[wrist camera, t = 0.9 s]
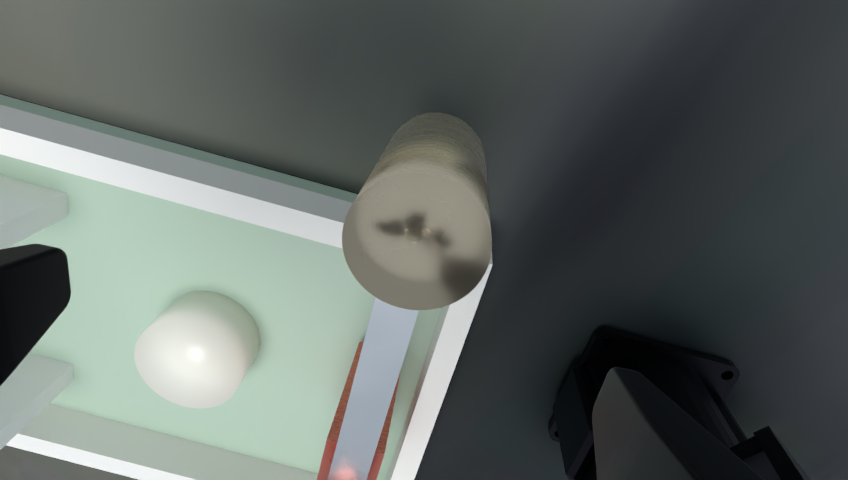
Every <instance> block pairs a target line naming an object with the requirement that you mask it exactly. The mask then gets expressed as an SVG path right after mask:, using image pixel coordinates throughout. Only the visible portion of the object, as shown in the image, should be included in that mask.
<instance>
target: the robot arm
mask: <svg viewBox="0 0 848 480" xmlns="http://www.w3.org/2000/svg"><path fill="white" fill-rule="evenodd" d="M70 297H71V286H70V277H69V268H68V259H67V255H66V253H65V252H64V251H63V250H62V249H60V248H57V247H52V246H47V245H43V244H28V245H23V246H17V247H11V248H5V249H0V386H1V385H2V384H3V383H4V382H5V381H6V379H7V378H8V377H9V376H10V375H11V374H12V372H13V371H14V370H15V369H16V368H17V367H18V365H19V364H20V363H21V362H22V361H23V359H24V358H25V357H26V356H27V355H28V353H29V352H30V351H31V350H32V348H33V347H34V346H35V345H36V344H37V342H38V341H39V340H40V339H41V338H42V336H43V335H44V334H45V333H46V331H47V330H48V329H49V328H50V327H51V325H52V324H53V323H54V322H55V321H56V319H57V318H58V317H59V316H60V314H61V313H62V312H63V311H64V310H65V308H66V307H67V305H68V303H69V301H70ZM605 337H609V338H610V339H609V340H608V341H605V342H603V341H601V340H602V339H603V338H605ZM724 371H728V372H727V373H725V374H722V373H723V372H724ZM739 375H740V374H739V370H738V369H737V368H736V366H735V365H734V364H733V362H731V361H728V360H725V359H721V358H718V357H714V356H710V355H707V354H703V353H699V352H696V351H692V350H688V349H685V348H681V347H678V346H674V345H670V344H667V343H663V342H659V341H656V340H652V339H649V338H645V337H641V336H638V335H634V334H630V333H627V332H623V331H620V330H616V329H612V328H608V327H603V328H599V329H598V330H596V331H595V333H594V334H593V336H592V338H591V340H590V342H589V344H588V346H587V348H586V350H585V352H584V354H583V356H582V358H581V360H580V362H579V364H578V365H576V366H574V367H573V368H572V369H571V371H570V373H569V375H568V377H567V379H566V381H565V383H564V385H563V387H562V389H561V391H560V393H559V395H558V397H557V399H556V401H555V404H554V406H553V411H554V415H553V417H552V419H551V421H550V423H549V426H548V430H549V435H550V437H551V438H552V440H555V441H557V442H560V447H561V452H562V457H563V462H564V467H565V472H566V475H567V477H568V478H569V480H810V478H809V477H808V476H807V475H806V473H805V472H804V471H803V469H802V468H801V467H800V466H799V464H798V463H797V462H796V460H795V459H794V458H793V457H792V455H791V454H790V453H789V451H788V450H787V449H786V448H785V446H784V445H783V444H782V442H781V441H780V440H779V439H778V437H777V436H776V435H775V433H774V432H773V431H772V430H771V428H770V427H769V426H767V427H765V428H763V429H761V430H758V431H756V432H754V435H755V436H754V437H751V438H749V439H747V438H746V436H745V435H744V433H743V432H742V430H741V428H740V427H739V425H738V424H737V422H736V421H735V419H734V417H733V416H732V414H731V413H730V411H729V409H728V408H727V406H726V405H725V403H724V401H723V400H724V399H725V397H726V396H727V394H728V393H729V391H730V390H731V388H732V387H733V385H734V384H735V382H736V381H737V379H738V377H739ZM556 430H557V431H556Z"/></svg>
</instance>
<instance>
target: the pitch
mask: <svg viewBox="0 0 848 480" xmlns="http://www.w3.org/2000/svg"><path fill="white" fill-rule="evenodd" d="M357 195H358V194H355V193H351V192H348V191H344V190H340V189H337V188H333V187H330V186H326V185H323V184H319V183H315V182H312V181H308V180H305V179H301V178H298V177H294V176H290V175H287V174H283V173H280V172H276V171H273V170H269V169H265V168H262V167H258V166H255V165H251V164H247V163H244V162H240V161H237V160H233V159H230V158H226V157H222V156H219V155H215V154H212V153H208V152H205V151H201V150H197V149H194V148H190V147H187V146H183V145H180V144H176V143H172V142H169V141H165V140H162V139H158V138H155V137H151V136H147V135H144V134H140V133H137V132H133V131H129V130H126V129H122V128H119V127H115V126H112V125H108V124H104V123H101V122H97V121H94V120H90V119H87V118H83V117H79V116H76V115H72V114H69V113H65V112H62V111H58V110H54V109H51V108H47V107H44V106H40V105H37V104H33V103H29V102H26V101H22V100H19V99H15V98H11V97H8V96H4V95H1V94H0V249H5V248H11V247H17V246H23V245H28V244H43V245H47V246H52V247H57V248H60V249H62V250H63V251H64V252H65V253H66V255H67V259H68V268H69V277H70V286H71V297H70V301H69V303H68V305H67V307H66V308H65V310H64V311H63V312H62V313H61V314H60V316H59V317H58V318H57V319H56V321H55V322H54V323H53V324H52V325H51V327H50V328H49V329H48V330H47V331H46V333H45V334H44V335H43V336H42V338H41V339H40V340H39V341H38V342H37V344H36V345H35V346H34V347H33V348H32V350H31V351H30V352H29V353H28V355H27V356H26V357H25V358H24V359H23V361H22V362H21V363H20V364H19V365H18V367H17V368H16V369H15V370H14V371H13V372H12V374H11V375H10V376H9V377H8V378H7V379H6V381H5V382H4V383H3V384H2V385H1V386H0V450H1V449H2V448H3V447H4V446H5V445H7V446H11V447H15V448H19V449H23V450H27V451H31V452H34V453H38V454H42V455H46V456H50V457H54V458H58V459H62V460H65V461H69V462H73V463H77V464H81V465H85V466H89V467H93V468H96V469H100V470H104V471H108V472H112V473H116V474H120V475H124V476H127V477H131V478H135V479H139V480H317V477H318V473H319V469H320V465H321V461H322V457H323V453H324V449H325V445H326V441H327V437H328V434H329V431H330V428H331V425H332V422H333V419H334V416H335V413H336V410H337V407H338V404H339V401H340V398H341V395H342V392H343V389H344V386H345V383H346V380H347V377H348V374H349V371H350V368H351V365H352V362H353V359H354V356H355V353H356V350H357V347H358V344H359V341H360V342H364V339H365V335H366V331H367V328H368V324H369V320H370V316H371V312H372V309H373V305H374V301H375V296H373V295H372V294H370V293H369V292H368V291H367V290H365V289H364V288H363V287H362V286H361V285H360V284H359V282H358V281H357V280H356V279H355V277H354V276H353V274H352V272H351V271H350V269H349V267H348V265H347V262H346V260H345V256H344V253H343V247H342V231H343V225H344V221H345V218H346V215H347V213H348V211H349V209H350V207H351V206H352V204H353V202H354V200H355V199H356V197H357ZM492 265H493V261H492V252H491V258H490V262H489V266H488V268H487V270H486V272H485V274H484V276H483V278H482V279H481V281H480V282H479V283H478V285H477V286H476V287H475V288H474V289H473V290H472V291H471V292H470V293H469V294H468V295H466V296H465V297H463V298H462V299H460V300H458V301H456V302H455V303H453V304H450V305H447V306H445V307H441V308H437V309H431V310H419V312H418V315H417V318H416V322H415V325H414V328H413V331H412V335H411V338H410V341H409V344H408V347H407V351H406V354H405V357H404V360H403V364H402V367H401V372H400V377H399V382H398V387H397V393H396V398H395V403H394V408H393V413H392V418H391V423H390V428H389V434H388V439H387V444H386V449H385V454H384V457H383V461H382V464H381V467H380V470H379V473H378V476H377V479H376V480H414V479H415V476H416V473H417V470H418V468H419V465H420V462H421V460H422V457H423V454H424V451H425V449H426V446H427V443H428V440H429V438H430V435H431V432H432V429H433V427H434V424H435V421H436V418H437V416H438V413H439V410H440V408H441V405H442V402H443V399H444V397H445V394H446V391H447V388H448V386H449V383H450V380H451V377H452V375H453V372H454V369H455V366H456V364H457V361H458V358H459V356H460V353H461V350H462V347H463V345H464V342H465V339H466V336H467V334H468V331H469V328H470V325H471V323H472V320H473V317H474V314H475V312H476V309H477V306H478V304H479V301H480V298H481V295H482V293H483V290H484V287H485V284H486V282H487V279H488V276H489V273H490V271H491V268H492ZM195 291H209V292H215V293H219V294H222V295H224V296H227V297H229V298H231V299H233V300H234V301H236V302H237V303H239V304H240V305H241V306H243V307H244V308H245V309H246V310H247V311H248V312H249V313H250V315H251V316H252V317H253V319H254V320H255V322H256V324H257V326H258V329H259V332H260V339H261V344H260V349H259V352H258V355H257V357H256V358H255V360H254V362H253V363H252V365H251V367H250V368H249V370H248V371H247V373H246V375H245V376H244V378H243V380H242V381H241V383H240V385H239V386H238V388H237V390H236V391H235V393H234V394H233V396H232V397H231V398H230V399H229V400H227V401H226V402H224V403H223V404H221V405H218V406H215V407H212V408H205V409H195V408H188V407H183V406H180V405H177V404H174V403H172V402H170V401H168V400H166V399H164V398H163V397H161V396H159V395H158V394H157V393H156V392H154V391H153V390H152V389H151V388H150V387H149V386H148V385H147V384H146V383H145V381H144V380H143V379H142V377H141V376H140V374H139V372H138V370H137V367H136V364H135V360H134V348H135V345H136V342H137V340H138V338H139V336H140V335H141V334H142V333H143V332H144V331H145V330H146V329H147V328H148V327H149V326H150V325H151V324H152V323H153V322H154V321H155V320H156V319H157V318H158V317H159V316H160V315H161V314H162V313H163V312H164V311H165V310H166V309H167V308H168V307H169V306H170V305H171V304H172V303H173V302H174V301H175V300H176V299H177V298H179V297H180V296H182V295H184V294H187V293H190V292H195Z"/></svg>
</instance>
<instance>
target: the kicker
mask: <svg viewBox="0 0 848 480" xmlns="http://www.w3.org/2000/svg"><path fill="white" fill-rule="evenodd" d="M342 247H343V253H344V256H345V260H346V262H347V265H348V267H349V269H350V271H351V272H352V274H353V276H354V277H355V279H356V280H357V281H358V282H359V284H360V285H361V286H362V287H363V288H364V289H365V290H367V291H368V292H369V293H370V294H372V295H373V296H375V301H374V305H373V309H372V312H371V316H370V320H369V324H368V328H367V331H366V335H365V339H364V342H360V341H359V344H358V347H357V350H356V353H355V356H354V359H353V362H352V365H351V368H350V371H349V374H348V377H347V380H346V383H345V386H344V389H343V392H342V395H341V398H340V401H339V404H338V407H337V410H336V413H335V416H334V419H333V422H332V425H331V428H330V431H329V434H328V437H327V441H326V445H325V449H324V453H323V457H322V461H321V465H320V469H319V473H318V477H317V480H376V479H377V476H378V473H379V470H380V467H381V464H382V461H383V457H384V454H385V449H386V444H387V439H388V434H389V428H390V423H391V418H392V413H393V408H394V403H395V398H396V393H397V387H398V382H399V377H400V372H401V367H402V364H403V360H404V357H405V354H406V351H407V347H408V344H409V341H410V338H411V335H412V331H413V328H414V325H415V322H416V318H417V315H418V312H419V310H431V309H437V308H441V307H445V306H447V305H450V304H453V303H455V302H456V301H458V300H460V299H462V298H463V297H465V296H466V295H468V294H469V293H470V292H471V291H472V290H473V289H474V288H475V287H476V286H477V285H478V283H479V282H480V281H481V279H482V278H483V276H484V274H485V272H486V270H487V268H488V266H489V262H490V258H491V252H492V235H491V223H490V211H489V198H488V186H487V174H486V161H485V153H484V149H483V145H482V143H481V141H480V138H479V137H478V135H477V134H476V132H475V131H474V130H473V129H472V128H471V127H470V126H469V125H468V124H467V123H466V122H464V121H463V120H461V119H459V118H457V117H455V116H453V115H450V114H446V113H439V112H431V113H424V114H421V115H418V116H415V117H413V118H411V119H409V120H408V121H406V122H405V123H404V124H403V125H401V126H400V127H399V129H398V130H397V131H396V132H395V134H394V135H393V137H392V138H391V140H390V142H389V143H388V145H387V147H386V148H385V150H384V152H383V153H382V155H381V157H380V159H379V160H378V162H377V164H376V165H375V167H374V169H373V170H372V172H371V174H370V175H369V177H368V179H367V180H366V182H365V184H364V185H363V187H362V189H361V190H360V192H359V194H358V195H357V197H356V199H355V200H354V202H353V204H352V206H351V207H350V209H349V211H348V213H347V215H346V218H345V221H344V225H343V231H342Z"/></svg>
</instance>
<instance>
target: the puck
mask: <svg viewBox="0 0 848 480" xmlns="http://www.w3.org/2000/svg"><path fill="white" fill-rule="evenodd" d="M260 344H261V339H260V332H259V329H258V326H257V324H256V322H255V320H254V319H253V317H252V316H251V315H250V313H249V312H248V311H247V310H246V309H245V308H244V307H243V306H241V305H240V304H239V303H237V302H236V301H234V300H233V299H231V298H229V297H227V296H224V295H222V294H219V293H215V292H209V291H195V292H190V293H187V294H184V295H182V296H180V297H179V298H177V299H176V300H175V301H174V302H173V303H172V304H171V305H170V306H169V307H168V308H167V309H166V310H165V311H164V312H163V313H162V314H161V315H160V316H159V317H158V318H157V319H156V320H155V321H154V322H153V323H152V324H151V325H150V326H149V327H148V328H147V329H146V330H145V331H144V332H143V333H142V334H141V335H140V336H139V338H138V340H137V342H136V345H135V348H134V360H135V364H136V367H137V370H138V372H139V374H140V376H141V377H142V379H143V380H144V381H145V383H146V384H147V385H148V386H149V387H150V388H151V389H152V390H153V391H154V392H156V393H157V394H158V395H159V396H161V397H163V398H164V399H166V400H168V401H170V402H172V403H174V404H177V405H180V406H183V407H188V408H195V409H205V408H212V407H215V406H218V405H221V404H223V403H224V402H226V401H227V400H229V399H230V398H231V397H232V396H233V394H234V393H235V391H236V390H237V388H238V386H239V385H240V383H241V381H242V380H243V378H244V376H245V375H246V373H247V371H248V370H249V368H250V367H251V365H252V363H253V362H254V360H255V358H256V357H257V355H258V352H259V349H260Z"/></svg>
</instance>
